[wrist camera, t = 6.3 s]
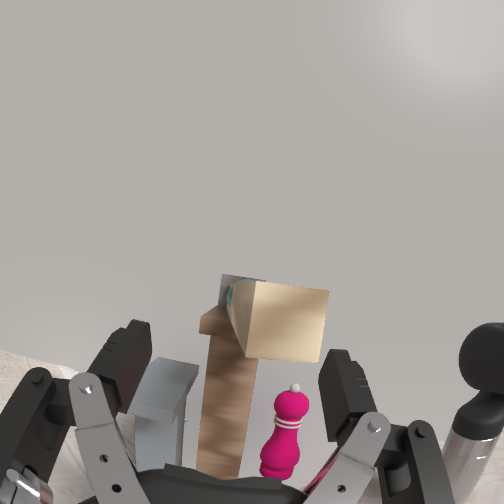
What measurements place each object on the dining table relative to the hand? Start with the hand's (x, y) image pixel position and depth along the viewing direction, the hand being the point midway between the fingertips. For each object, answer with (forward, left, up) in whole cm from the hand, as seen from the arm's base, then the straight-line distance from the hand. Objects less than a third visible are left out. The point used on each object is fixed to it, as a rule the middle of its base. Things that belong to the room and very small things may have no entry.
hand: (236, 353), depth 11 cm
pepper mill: (-11, -32, -32) cm, 46 cm away
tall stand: (0, -18, -32) cm, 36 cm away
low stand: (+8, -18, -32) cm, 37 cm away
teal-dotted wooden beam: (-1, -11, 0) cm, 11 cm away
